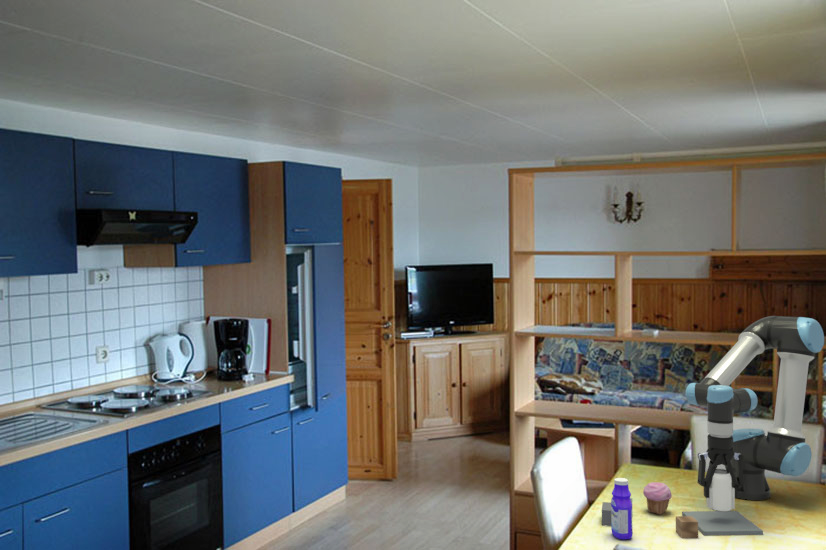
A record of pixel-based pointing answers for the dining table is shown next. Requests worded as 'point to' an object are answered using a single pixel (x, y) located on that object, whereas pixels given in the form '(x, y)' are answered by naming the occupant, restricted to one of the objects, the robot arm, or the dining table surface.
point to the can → (721, 491)
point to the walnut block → (686, 527)
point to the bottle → (621, 510)
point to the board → (723, 523)
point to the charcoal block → (606, 513)
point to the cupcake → (657, 497)
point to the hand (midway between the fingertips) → (720, 507)
